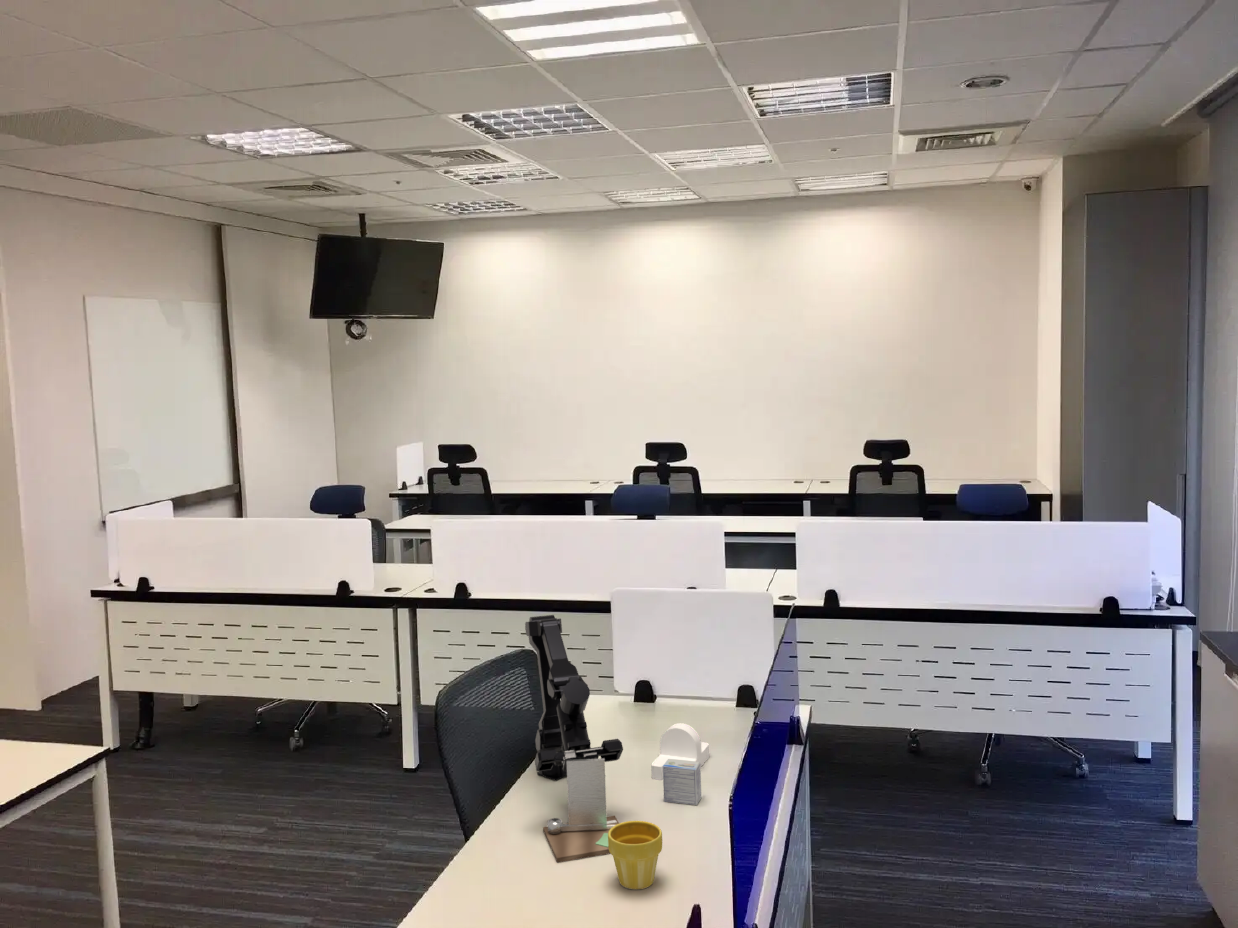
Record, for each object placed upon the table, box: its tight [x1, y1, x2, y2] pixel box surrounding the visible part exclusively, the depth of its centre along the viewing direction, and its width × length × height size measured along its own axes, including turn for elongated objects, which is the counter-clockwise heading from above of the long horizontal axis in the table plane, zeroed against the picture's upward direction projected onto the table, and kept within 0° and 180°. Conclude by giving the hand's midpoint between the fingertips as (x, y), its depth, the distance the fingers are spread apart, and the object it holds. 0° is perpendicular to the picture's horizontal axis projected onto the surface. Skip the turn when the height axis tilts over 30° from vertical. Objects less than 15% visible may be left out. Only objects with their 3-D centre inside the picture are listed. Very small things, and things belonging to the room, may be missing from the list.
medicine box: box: [662, 759, 702, 806], centre depth 218 cm, size 8×4×9 cm, turn 71°
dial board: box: [542, 815, 620, 864], centre depth 200 cm, size 16×14×1 cm
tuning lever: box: [547, 758, 615, 834], centre depth 202 cm, size 16×3×15 cm, turn 91°
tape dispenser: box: [650, 722, 710, 781], centre depth 236 cm, size 10×18×11 cm, turn 157°
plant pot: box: [608, 820, 663, 890], centre depth 183 cm, size 10×10×10 cm
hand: (586, 793), depth 203 cm, fingers closed, pressing on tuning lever
